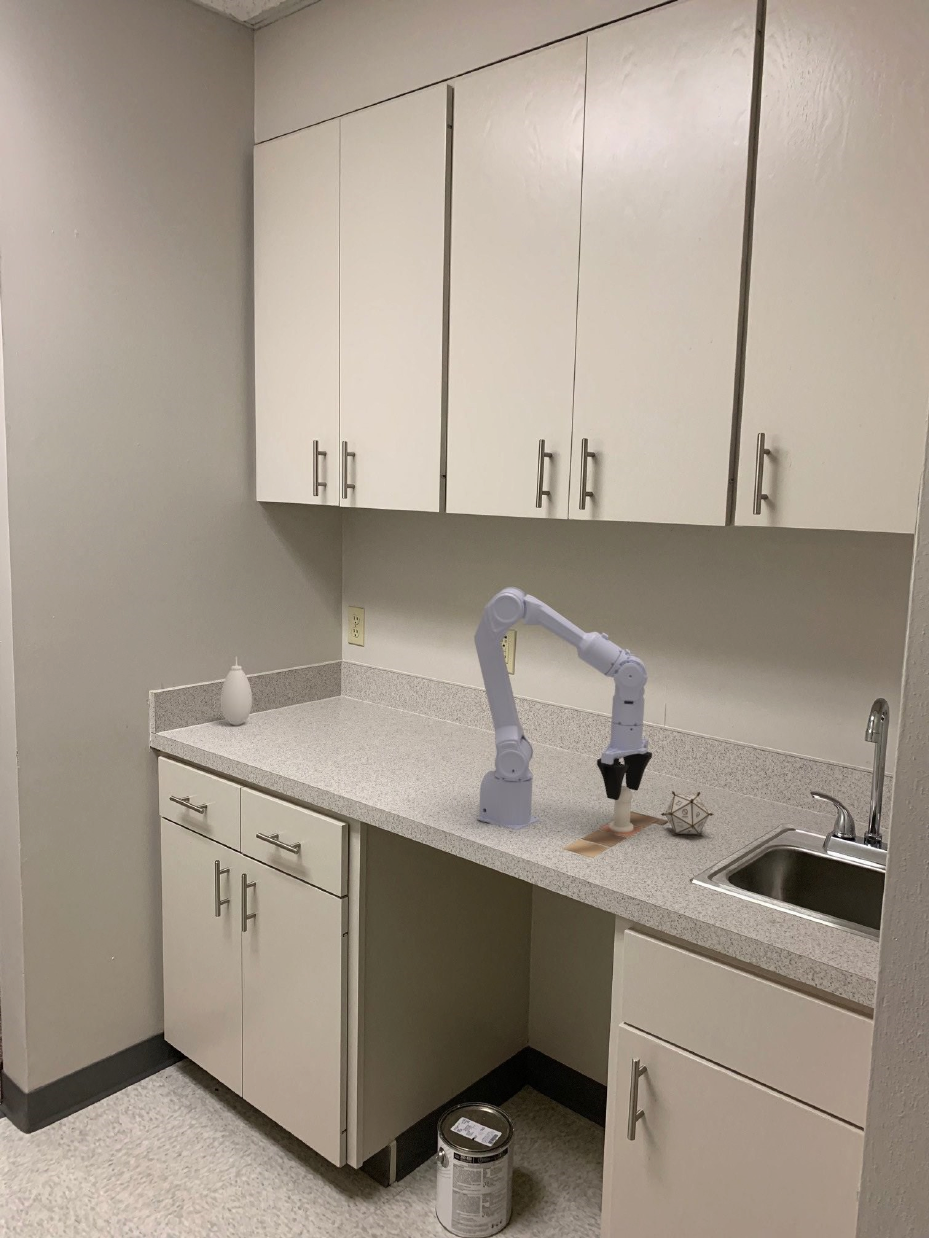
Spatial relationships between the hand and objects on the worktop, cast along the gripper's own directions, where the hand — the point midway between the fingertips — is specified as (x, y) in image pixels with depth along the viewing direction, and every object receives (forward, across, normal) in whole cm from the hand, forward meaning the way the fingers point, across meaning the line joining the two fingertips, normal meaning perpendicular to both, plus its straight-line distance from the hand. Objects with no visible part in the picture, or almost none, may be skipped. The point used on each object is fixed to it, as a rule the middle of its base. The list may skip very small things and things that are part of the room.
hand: (622, 793), depth 174 cm
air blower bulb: (+8, +2, +113) cm, 113 cm away
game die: (+7, +6, -10) cm, 14 cm away
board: (+7, -3, 0) cm, 8 cm away
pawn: (+7, 0, 0) cm, 7 cm away
